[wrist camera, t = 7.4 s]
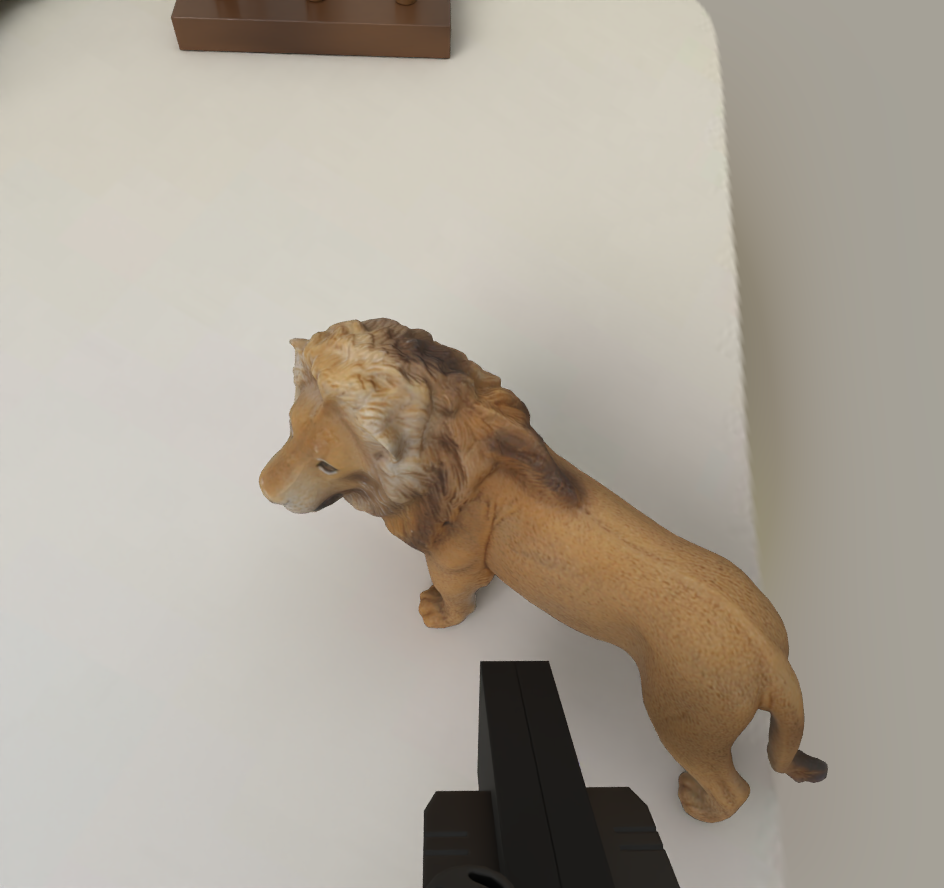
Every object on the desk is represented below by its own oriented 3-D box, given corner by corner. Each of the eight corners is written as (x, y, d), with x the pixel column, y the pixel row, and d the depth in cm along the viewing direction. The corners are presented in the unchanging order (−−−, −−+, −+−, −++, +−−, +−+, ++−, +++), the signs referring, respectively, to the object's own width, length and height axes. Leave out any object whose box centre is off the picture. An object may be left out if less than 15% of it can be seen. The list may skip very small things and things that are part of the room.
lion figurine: (272, 594, 22) (189, 406, 14) (374, 451, 24) (350, 228, 17) (789, 878, 19) (1039, 833, 11) (842, 679, 21) (1073, 532, 14)
